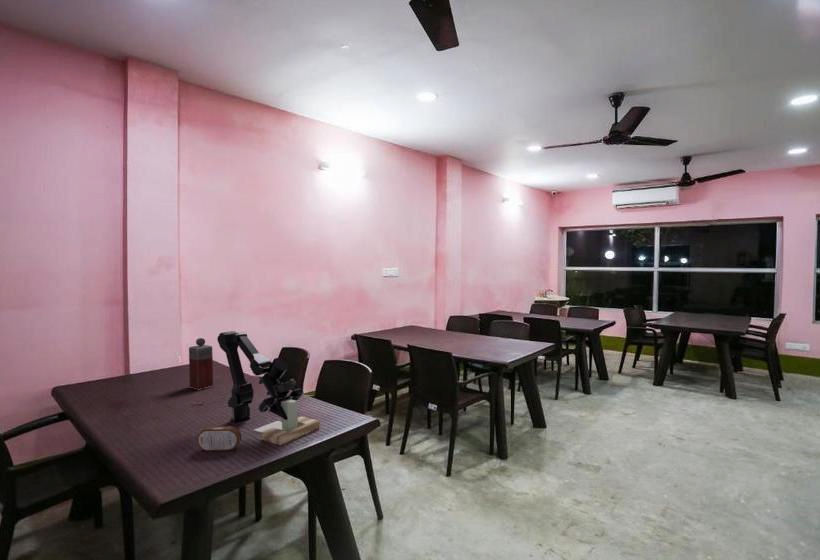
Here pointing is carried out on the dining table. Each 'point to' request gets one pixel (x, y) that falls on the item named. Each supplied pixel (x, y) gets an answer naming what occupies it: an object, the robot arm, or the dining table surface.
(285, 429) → the mint green pillar
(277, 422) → the mat
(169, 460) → the dining table surface
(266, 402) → the robot arm
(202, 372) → the glass decanter
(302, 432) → the stand
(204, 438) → the tin
